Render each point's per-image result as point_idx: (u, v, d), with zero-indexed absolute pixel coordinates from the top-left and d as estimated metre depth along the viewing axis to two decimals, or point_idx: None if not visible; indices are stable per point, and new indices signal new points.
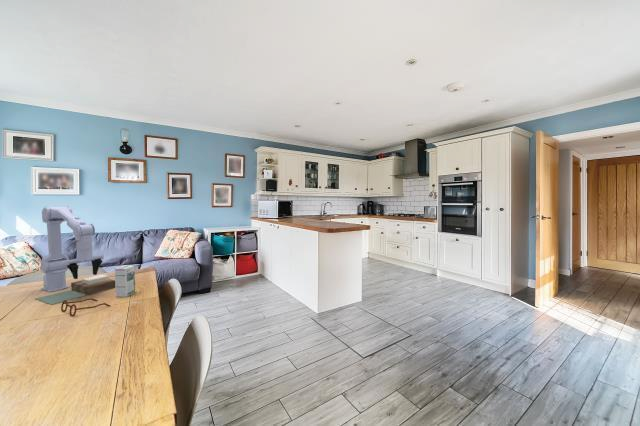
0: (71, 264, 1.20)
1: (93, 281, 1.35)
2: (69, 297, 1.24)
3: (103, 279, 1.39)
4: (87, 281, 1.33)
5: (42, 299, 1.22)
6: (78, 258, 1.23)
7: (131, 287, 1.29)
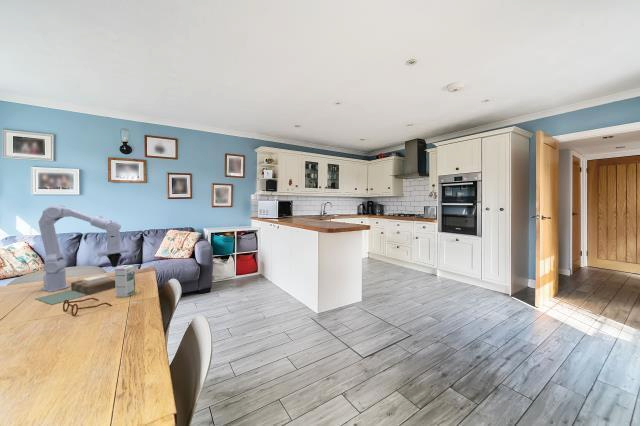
0: (110, 255, 1.45)
1: (93, 281, 1.35)
2: (69, 297, 1.24)
3: (103, 279, 1.39)
4: (87, 281, 1.33)
5: (42, 299, 1.22)
6: (109, 251, 1.44)
7: (131, 287, 1.29)
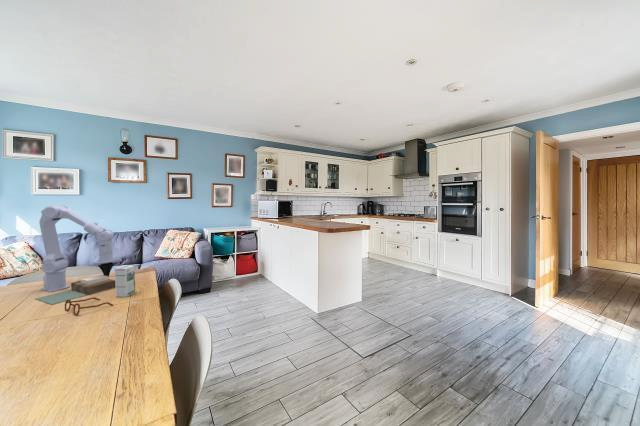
0: (102, 264, 1.40)
1: (92, 281, 1.34)
2: (69, 297, 1.24)
3: (102, 279, 1.38)
4: (86, 281, 1.33)
5: (42, 299, 1.22)
6: (100, 260, 1.39)
7: (131, 287, 1.29)
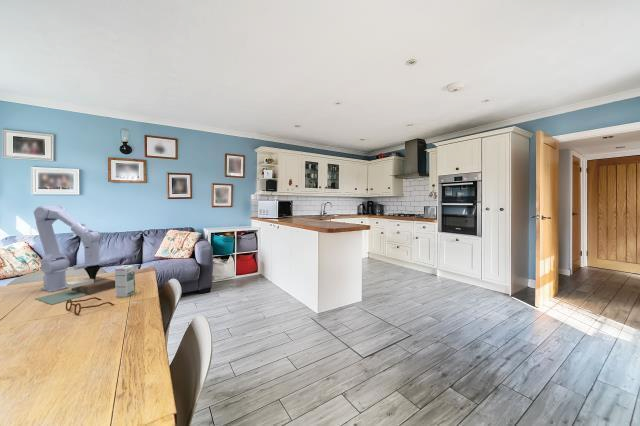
0: (88, 267, 1.34)
1: (77, 285, 1.28)
2: (69, 297, 1.24)
3: (88, 283, 1.32)
4: (70, 285, 1.27)
5: (42, 299, 1.22)
6: (86, 263, 1.33)
7: (131, 287, 1.29)
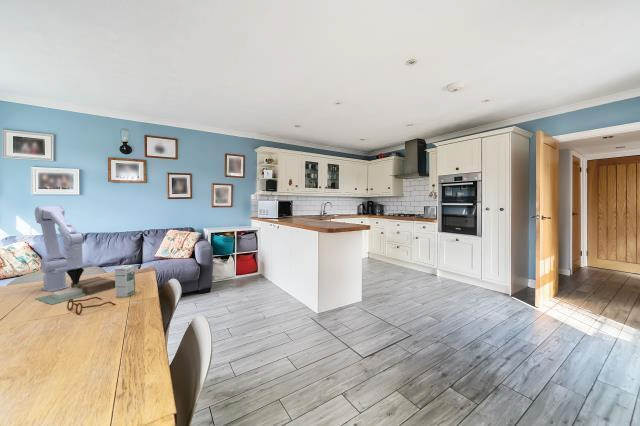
0: (70, 270, 1.28)
1: (64, 295, 1.24)
2: (69, 297, 1.24)
3: (76, 293, 1.28)
4: (57, 295, 1.23)
5: (42, 299, 1.22)
6: (68, 266, 1.27)
7: (131, 287, 1.29)
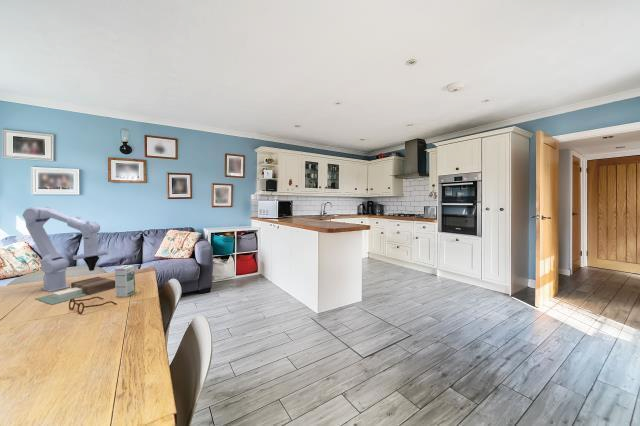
0: (87, 257, 1.36)
1: (64, 295, 1.24)
2: (69, 297, 1.24)
3: (76, 293, 1.28)
4: (57, 295, 1.23)
5: (42, 299, 1.22)
6: (85, 253, 1.36)
7: (131, 287, 1.29)
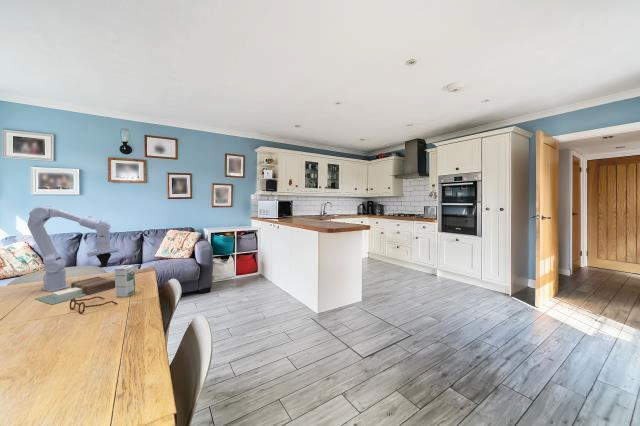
0: (100, 254, 1.44)
1: (64, 295, 1.24)
2: (69, 297, 1.24)
3: (76, 293, 1.28)
4: (57, 295, 1.23)
5: (42, 299, 1.22)
6: (98, 251, 1.43)
7: (131, 287, 1.29)
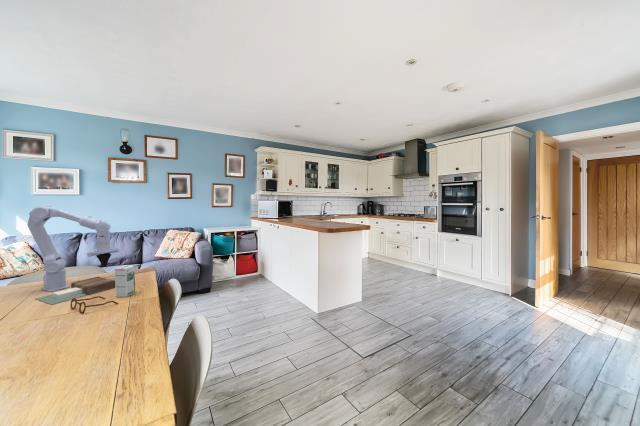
0: (100, 254, 1.44)
1: (64, 295, 1.24)
2: (69, 297, 1.24)
3: (76, 293, 1.28)
4: (57, 295, 1.23)
5: (42, 299, 1.22)
6: (98, 251, 1.43)
7: (131, 287, 1.29)
